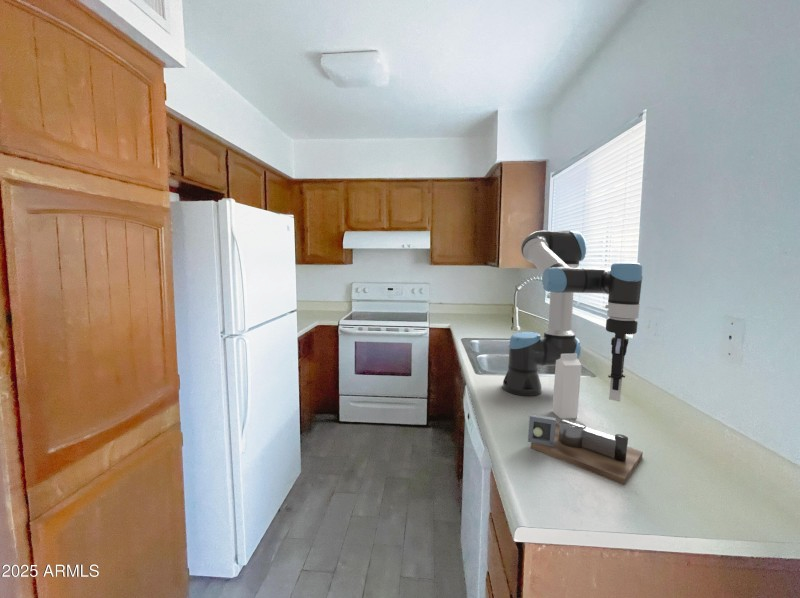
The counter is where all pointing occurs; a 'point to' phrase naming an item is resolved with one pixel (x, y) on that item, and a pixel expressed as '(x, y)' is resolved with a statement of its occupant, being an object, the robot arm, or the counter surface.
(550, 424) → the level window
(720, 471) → the counter surface
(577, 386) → the milk
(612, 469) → the stand board
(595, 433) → the crank handle
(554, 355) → the robot arm
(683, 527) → the counter surface
